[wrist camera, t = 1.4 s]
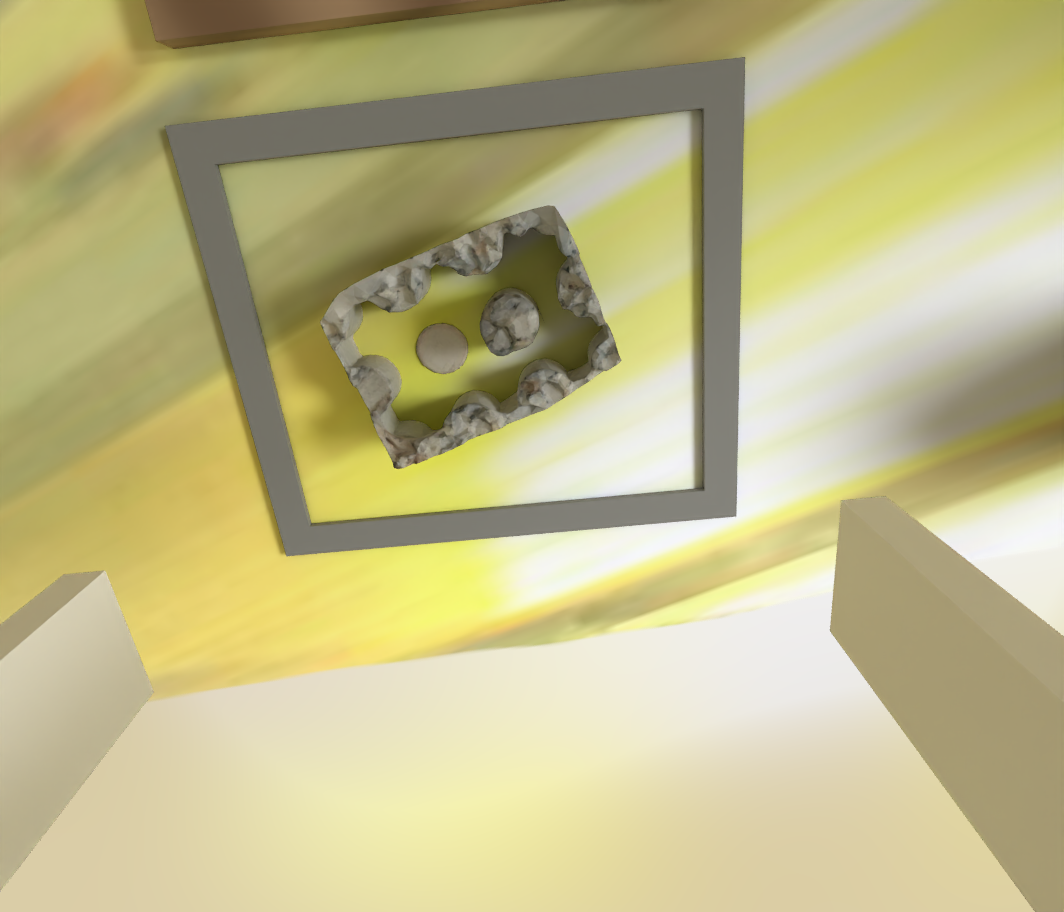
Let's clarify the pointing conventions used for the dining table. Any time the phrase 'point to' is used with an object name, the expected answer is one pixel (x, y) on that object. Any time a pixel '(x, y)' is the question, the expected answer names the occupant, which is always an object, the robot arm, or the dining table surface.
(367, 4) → the walnut board
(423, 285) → the egg carton
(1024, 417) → the dining table surface
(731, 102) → the mat border
